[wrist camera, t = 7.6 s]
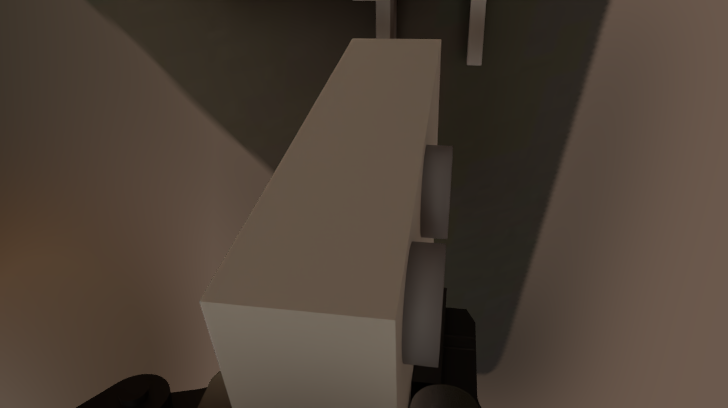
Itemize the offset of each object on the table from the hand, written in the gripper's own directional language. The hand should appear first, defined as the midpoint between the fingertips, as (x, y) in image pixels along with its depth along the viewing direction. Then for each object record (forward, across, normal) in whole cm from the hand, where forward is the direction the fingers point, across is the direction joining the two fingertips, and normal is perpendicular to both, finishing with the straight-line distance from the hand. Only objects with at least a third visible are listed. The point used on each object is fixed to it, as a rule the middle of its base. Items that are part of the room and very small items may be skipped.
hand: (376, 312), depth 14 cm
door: (+4, 0, -1) cm, 5 cm away
